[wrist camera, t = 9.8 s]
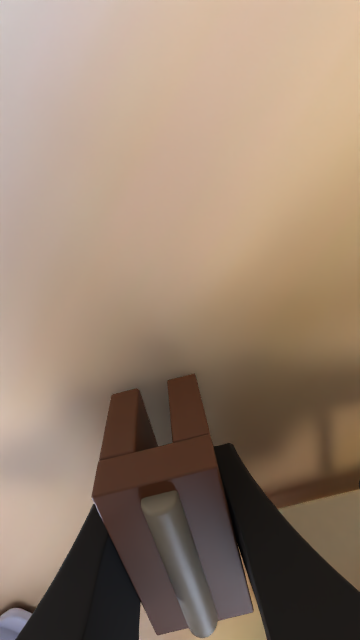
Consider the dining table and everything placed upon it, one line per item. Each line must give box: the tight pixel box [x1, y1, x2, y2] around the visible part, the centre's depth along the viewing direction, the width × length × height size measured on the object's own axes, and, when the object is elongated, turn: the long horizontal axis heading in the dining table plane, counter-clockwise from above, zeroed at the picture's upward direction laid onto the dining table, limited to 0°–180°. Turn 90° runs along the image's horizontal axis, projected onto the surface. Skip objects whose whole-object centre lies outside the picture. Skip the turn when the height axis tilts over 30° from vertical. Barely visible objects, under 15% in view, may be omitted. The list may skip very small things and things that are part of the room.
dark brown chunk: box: [92, 374, 254, 638], centre depth 10 cm, size 6×3×5 cm, turn 13°
